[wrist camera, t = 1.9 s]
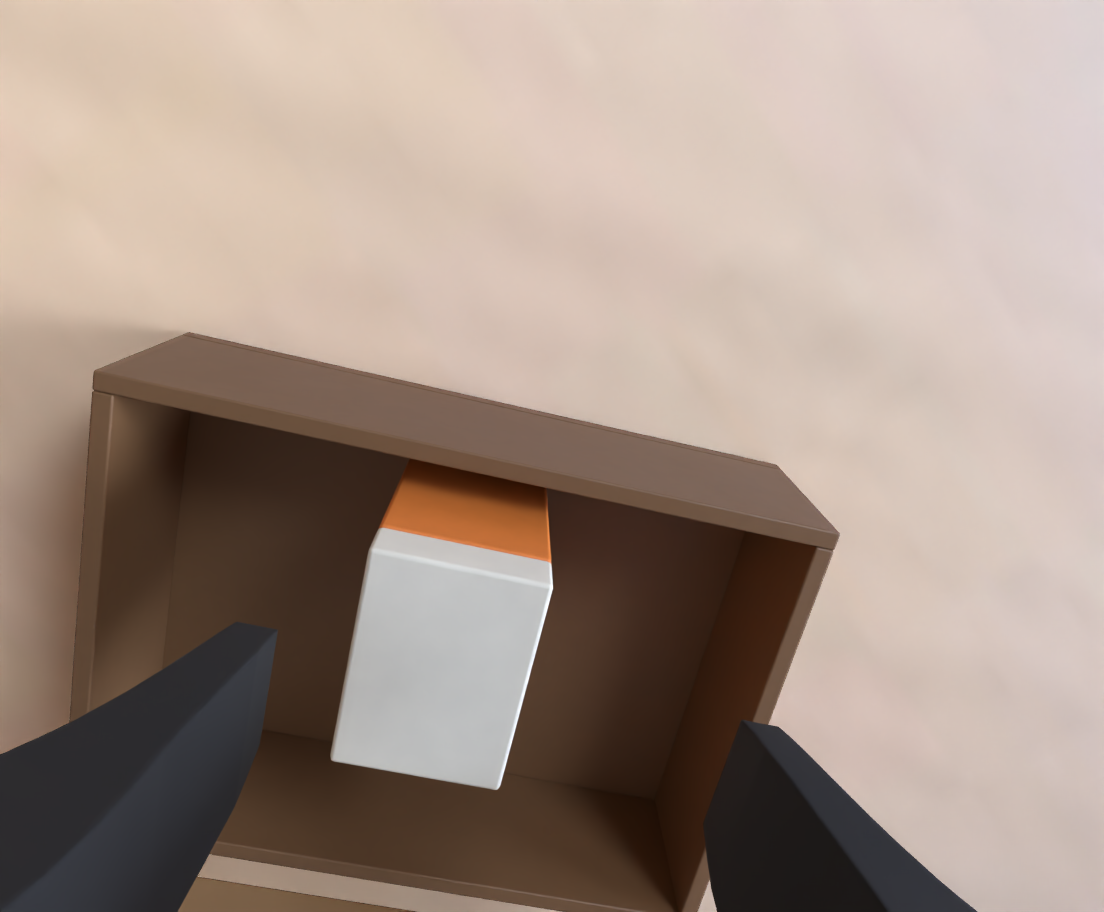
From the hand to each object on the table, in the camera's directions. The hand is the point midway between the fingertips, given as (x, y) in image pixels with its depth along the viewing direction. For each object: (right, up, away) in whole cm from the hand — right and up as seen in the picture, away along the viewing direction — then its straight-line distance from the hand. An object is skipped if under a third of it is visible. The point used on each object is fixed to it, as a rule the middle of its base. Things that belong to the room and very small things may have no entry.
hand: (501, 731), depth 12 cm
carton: (-2, +1, +9) cm, 9 cm away
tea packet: (-1, +2, +8) cm, 9 cm away
